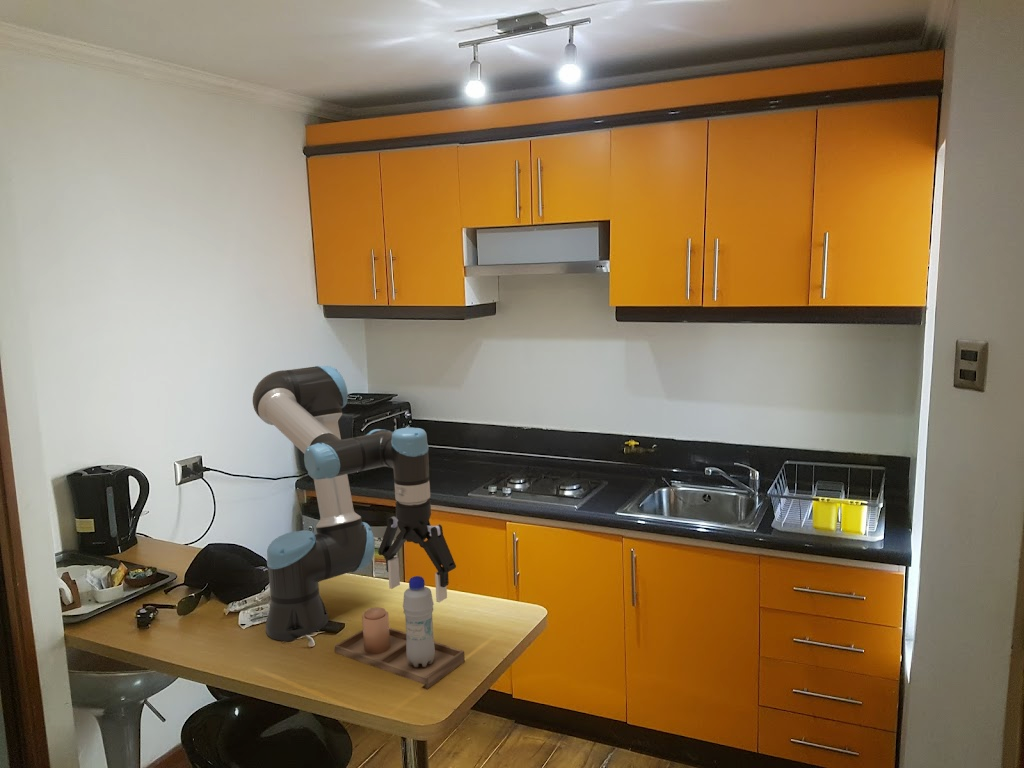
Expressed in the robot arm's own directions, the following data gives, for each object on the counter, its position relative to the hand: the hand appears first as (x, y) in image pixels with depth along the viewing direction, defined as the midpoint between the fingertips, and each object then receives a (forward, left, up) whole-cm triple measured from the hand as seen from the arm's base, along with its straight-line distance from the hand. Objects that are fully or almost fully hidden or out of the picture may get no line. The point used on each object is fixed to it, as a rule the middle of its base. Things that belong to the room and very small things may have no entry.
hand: (417, 593), depth 167 cm
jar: (-13, 0, -16) cm, 21 cm away
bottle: (0, 0, -16) cm, 16 cm away
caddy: (-7, 0, -17) cm, 18 cm away
